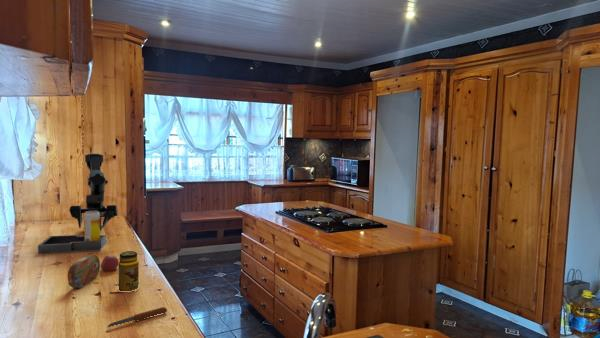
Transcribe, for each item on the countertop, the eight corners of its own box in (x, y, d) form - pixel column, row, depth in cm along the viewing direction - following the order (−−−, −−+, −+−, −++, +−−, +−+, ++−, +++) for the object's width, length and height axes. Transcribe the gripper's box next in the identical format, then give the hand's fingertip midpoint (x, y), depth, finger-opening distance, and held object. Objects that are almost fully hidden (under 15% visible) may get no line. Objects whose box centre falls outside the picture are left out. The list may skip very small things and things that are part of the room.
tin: (75, 292, 123) (75, 266, 122) (65, 291, 123) (65, 265, 122) (100, 275, 138) (100, 252, 137) (92, 274, 138) (91, 251, 137)
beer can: (102, 243, 173) (102, 210, 172) (95, 247, 167) (94, 213, 166) (89, 242, 174) (89, 210, 172) (81, 246, 168) (80, 212, 166)
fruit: (115, 276, 142) (126, 257, 143) (99, 271, 139) (112, 251, 140) (113, 271, 147) (124, 252, 148) (98, 266, 144) (110, 246, 145)
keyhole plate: (50, 243, 172) (50, 236, 172) (106, 241, 179) (106, 233, 179) (38, 254, 158) (37, 245, 158) (100, 250, 165) (100, 242, 164)
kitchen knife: (165, 312, 111) (165, 305, 111) (167, 314, 110) (167, 307, 110) (106, 329, 101) (106, 321, 101) (108, 331, 100) (108, 323, 100)
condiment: (137, 292, 124) (137, 256, 123) (109, 293, 122) (108, 257, 121) (141, 283, 131) (141, 249, 130) (114, 285, 129) (114, 250, 128)
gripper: (70, 187, 169) (63, 217, 160) (116, 187, 175) (112, 216, 165) (75, 202, 177) (68, 231, 168) (119, 201, 183) (115, 230, 173)
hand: (91, 227), depth 168 cm, fingers open, 9 cm apart
